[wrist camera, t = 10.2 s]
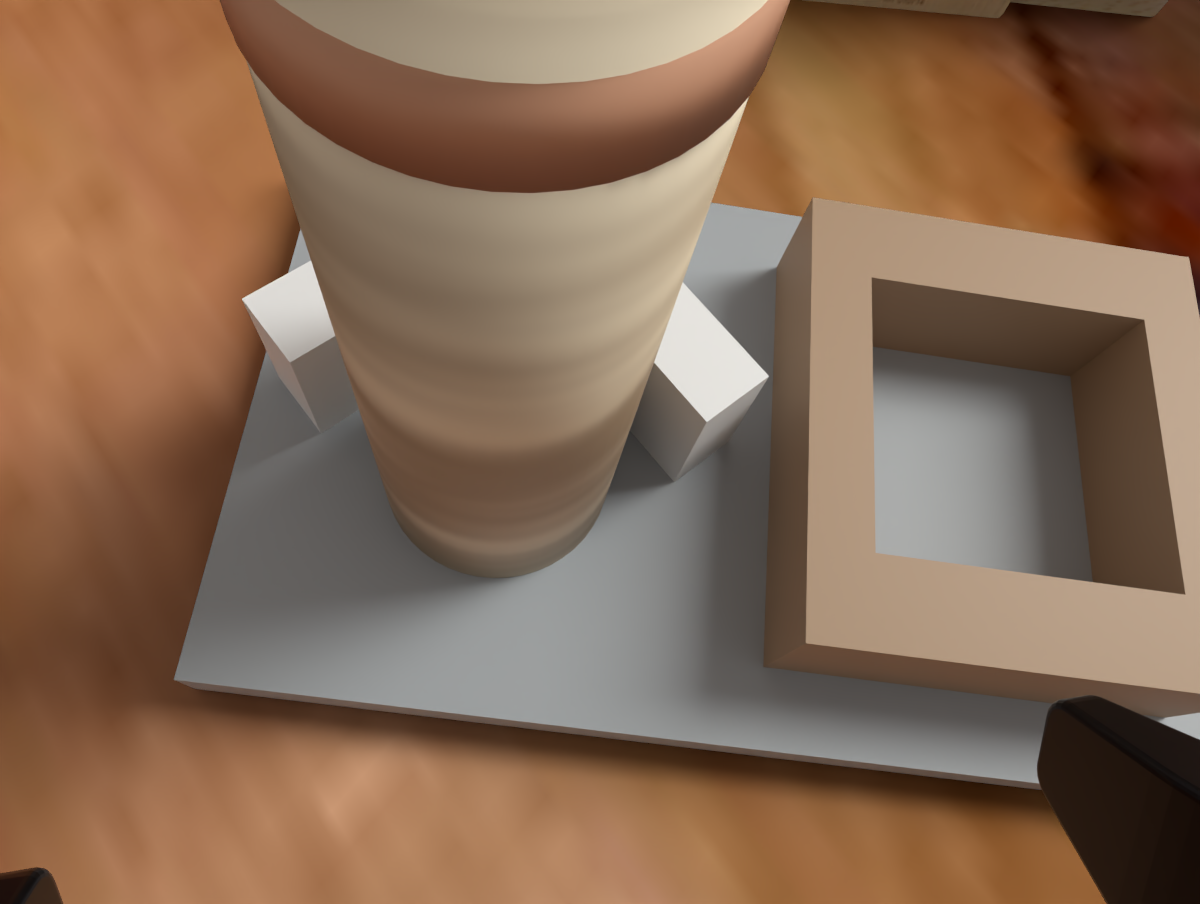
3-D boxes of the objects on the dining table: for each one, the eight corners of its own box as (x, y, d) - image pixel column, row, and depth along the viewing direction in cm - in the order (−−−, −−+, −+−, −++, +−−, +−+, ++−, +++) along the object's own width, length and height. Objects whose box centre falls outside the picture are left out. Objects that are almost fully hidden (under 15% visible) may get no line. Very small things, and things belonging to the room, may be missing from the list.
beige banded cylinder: (635, 553, 18) (942, -13, 6) (403, 603, 17) (183, 63, 5) (581, 352, 19) (732, -430, 7) (366, 388, 18) (128, -429, 6)
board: (1206, 809, 18) (1398, 807, 14) (194, 688, 17) (106, 650, 13) (1131, 300, 23) (1263, 194, 19) (333, 176, 22) (299, 35, 18)
